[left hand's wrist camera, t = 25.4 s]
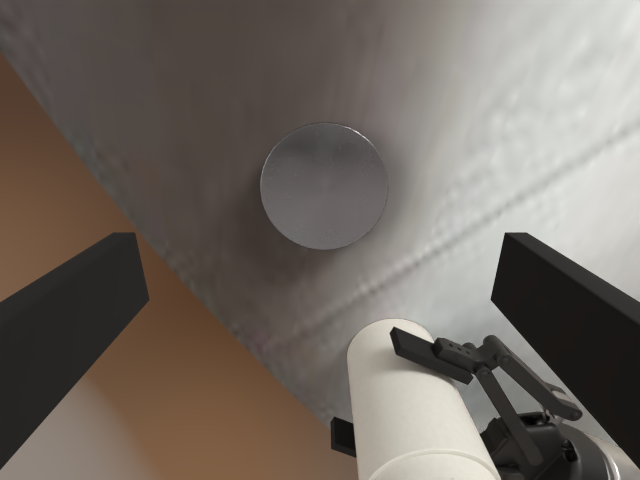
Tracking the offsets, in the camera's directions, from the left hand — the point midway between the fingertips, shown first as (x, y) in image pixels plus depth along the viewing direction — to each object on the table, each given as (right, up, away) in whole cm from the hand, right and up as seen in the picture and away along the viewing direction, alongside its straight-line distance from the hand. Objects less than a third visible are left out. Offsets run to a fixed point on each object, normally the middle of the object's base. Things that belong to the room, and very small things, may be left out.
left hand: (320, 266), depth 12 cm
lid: (0, +5, +15) cm, 16 cm away
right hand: (+4, -12, +16) cm, 20 cm away
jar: (+7, -11, +23) cm, 26 cm away
